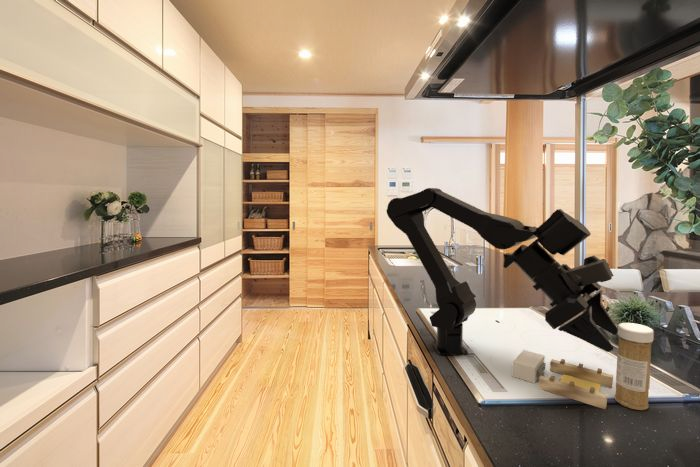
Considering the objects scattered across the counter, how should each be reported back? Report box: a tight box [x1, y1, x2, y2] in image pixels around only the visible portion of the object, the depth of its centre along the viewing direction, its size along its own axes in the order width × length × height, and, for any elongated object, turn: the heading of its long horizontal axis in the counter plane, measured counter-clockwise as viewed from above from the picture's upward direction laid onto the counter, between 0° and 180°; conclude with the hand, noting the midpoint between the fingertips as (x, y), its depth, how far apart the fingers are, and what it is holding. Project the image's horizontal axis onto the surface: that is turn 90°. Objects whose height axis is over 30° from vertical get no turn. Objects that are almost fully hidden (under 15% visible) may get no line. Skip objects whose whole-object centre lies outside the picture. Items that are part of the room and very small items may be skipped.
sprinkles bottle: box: [614, 322, 655, 411], centre depth 58 cm, size 5×5×13 cm
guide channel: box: [538, 358, 614, 410], centre depth 64 cm, size 10×10×3 cm
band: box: [559, 374, 602, 393], centre depth 64 cm, size 6×7×1 cm
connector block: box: [511, 349, 546, 384], centre depth 69 cm, size 4×7×3 cm, turn 138°
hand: (614, 341), depth 60 cm, fingers open, 9 cm apart
